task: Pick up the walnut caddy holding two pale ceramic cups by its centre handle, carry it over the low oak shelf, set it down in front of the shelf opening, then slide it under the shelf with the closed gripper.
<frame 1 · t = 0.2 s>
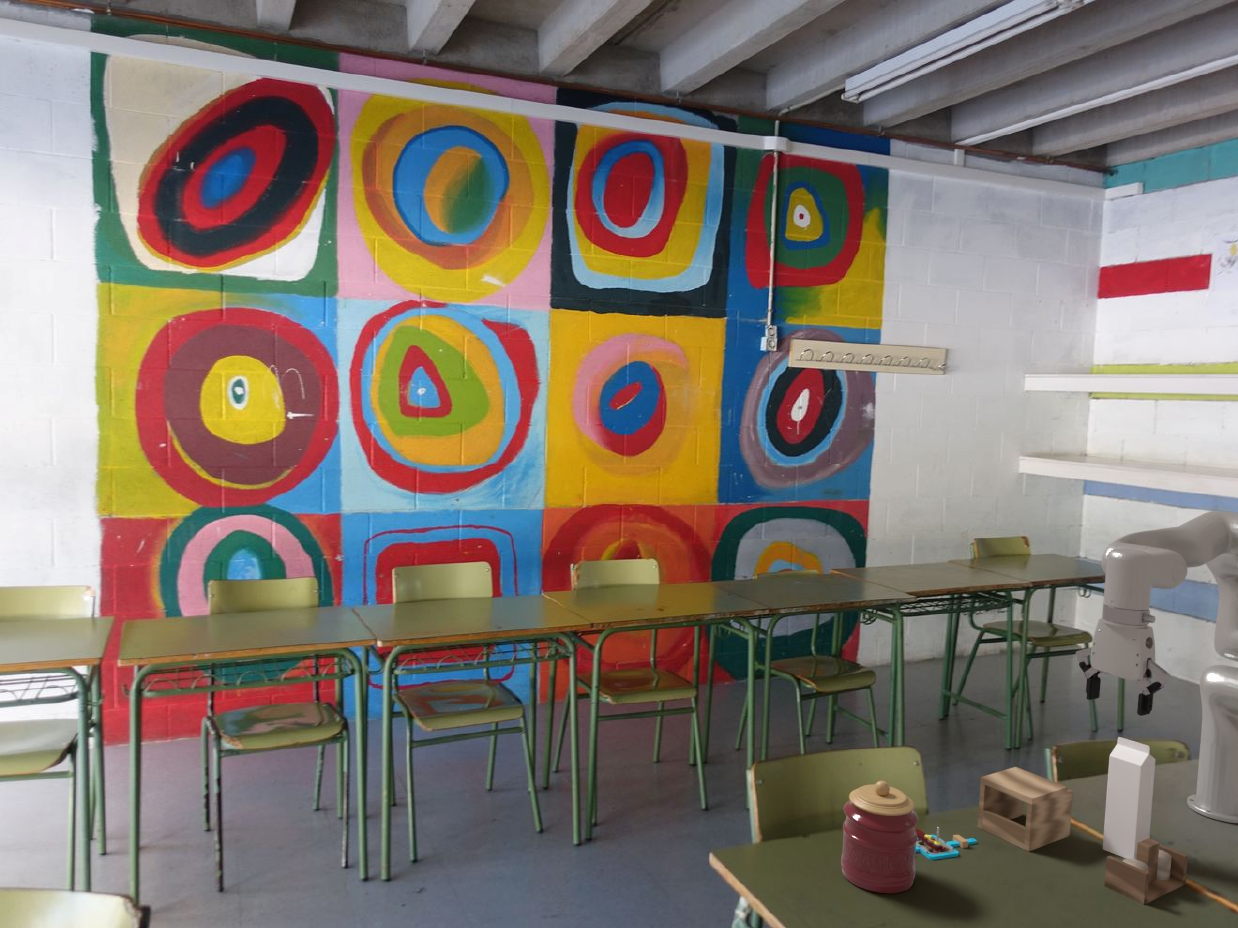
hand: (1117, 706, 175), 30 cm above the table, tool pointing down, fingers open, 9 cm apart
caddy: (1145, 885, 169), on the table
canister: (877, 877, 169), on the table
milk: (1125, 852, 182), on the table
shelf: (1023, 831, 189), on the table
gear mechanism: (929, 850, 181), on the table
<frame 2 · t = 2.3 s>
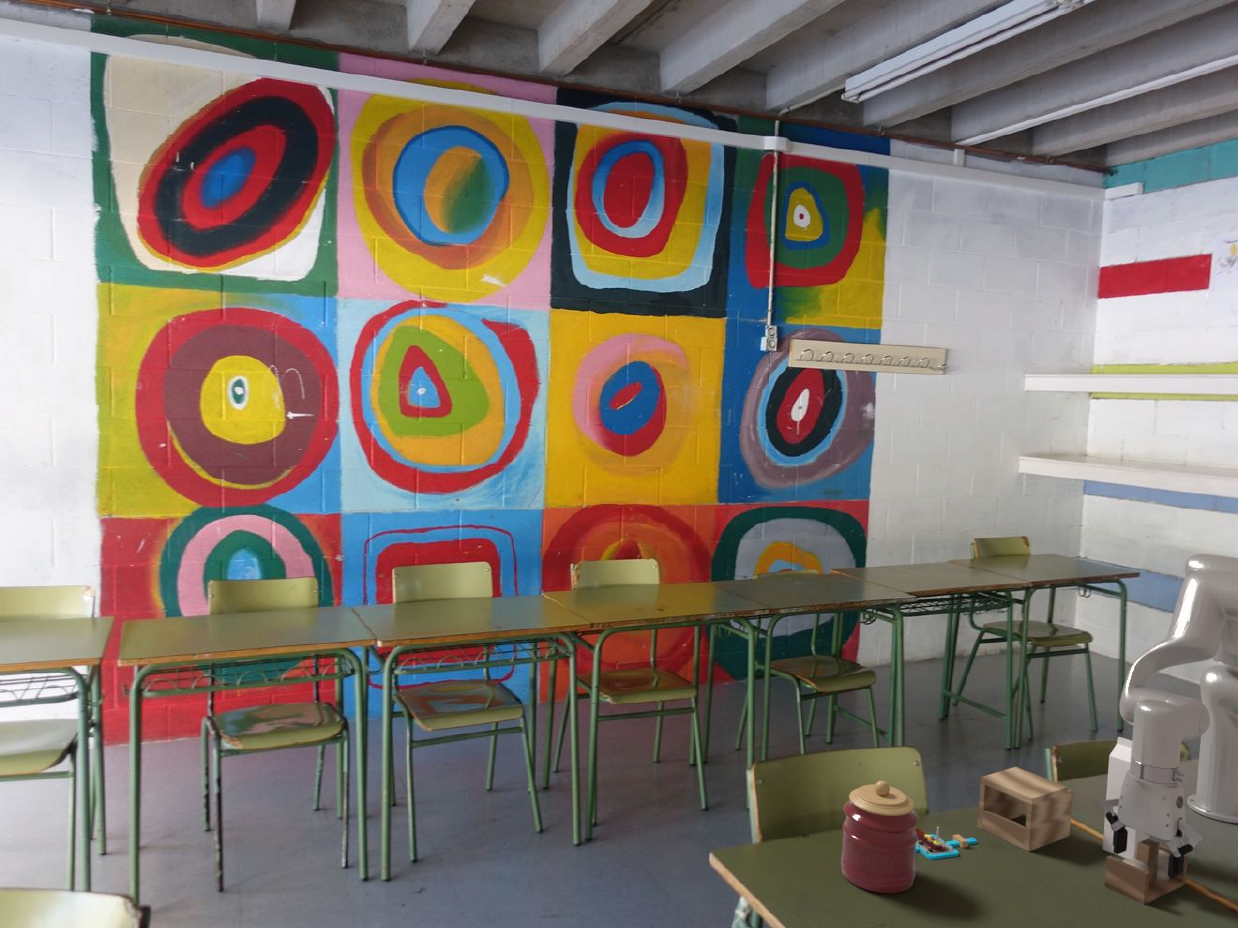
hand: (1146, 863, 169), 4 cm above the table, tool pointing down, fingers open, 9 cm apart
nothing on the table moved.
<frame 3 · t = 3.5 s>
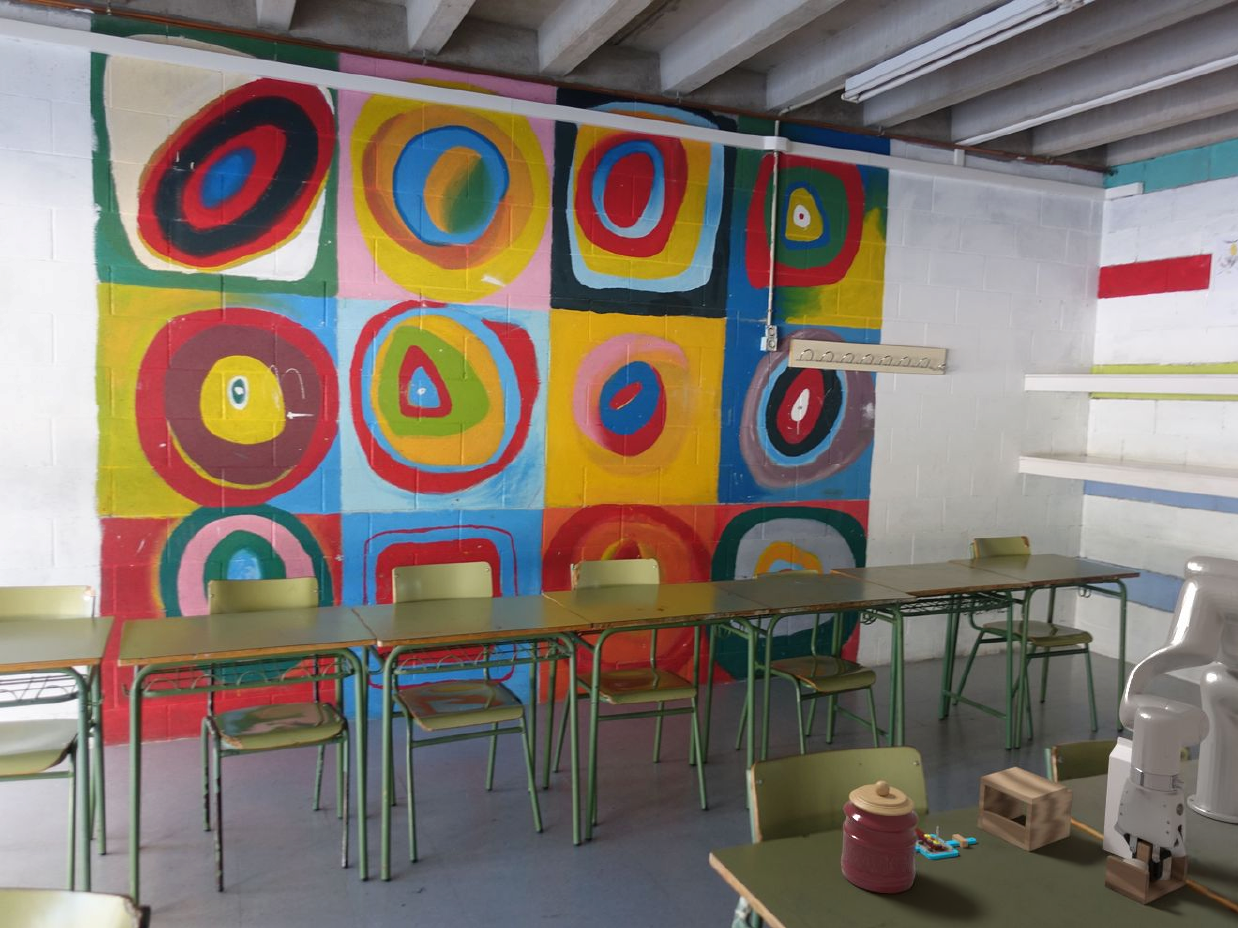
hand: (1146, 876, 169), 2 cm above the table, tool pointing down, fingers closed on caddy
caddy: (1145, 885, 169), on the table, touching gripper
everything else where it was.
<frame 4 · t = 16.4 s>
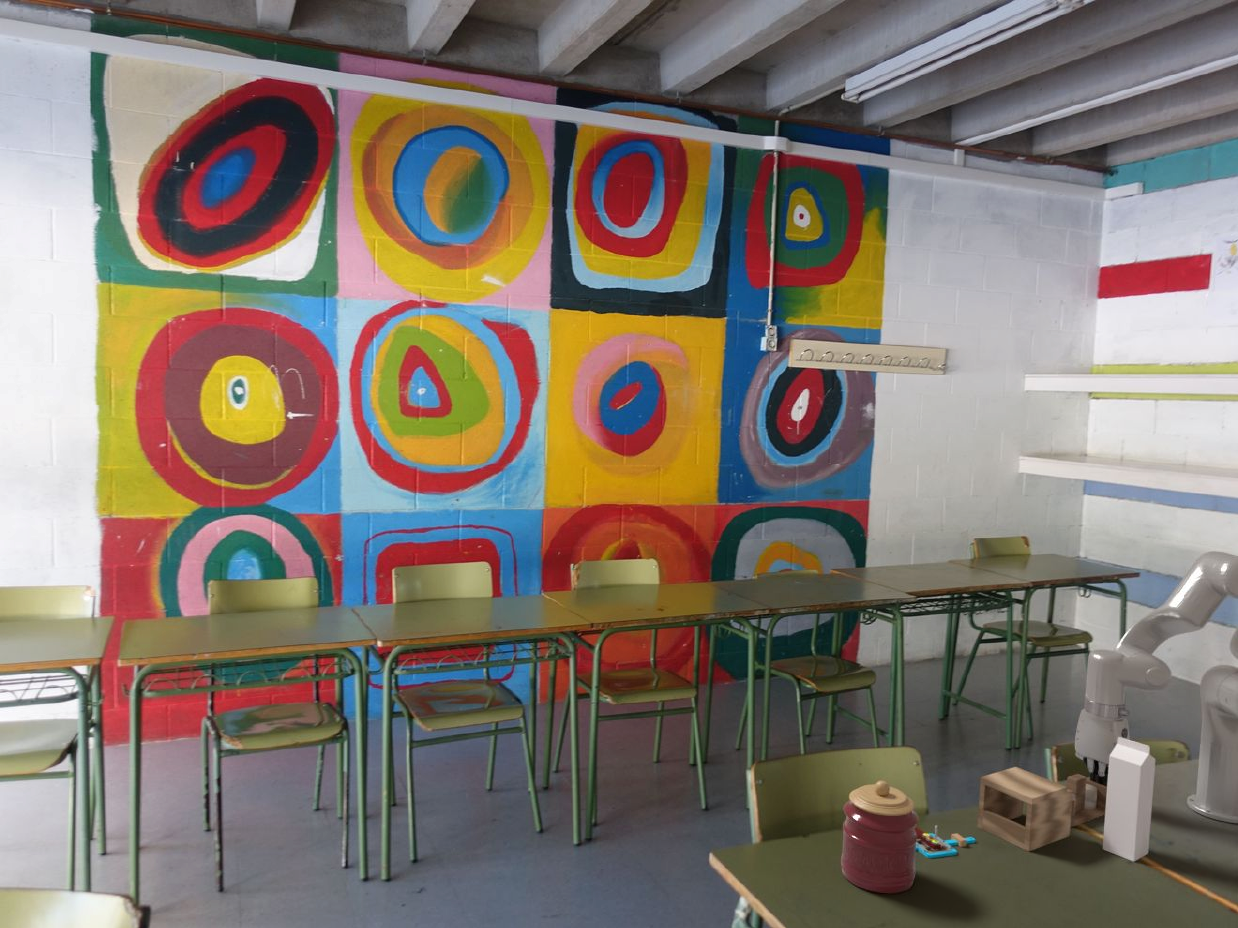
hand: (1097, 790, 203), 3 cm above the table, tool pointing down, fingers closed
caddy: (1074, 813, 198), on the table
everything else where it was.
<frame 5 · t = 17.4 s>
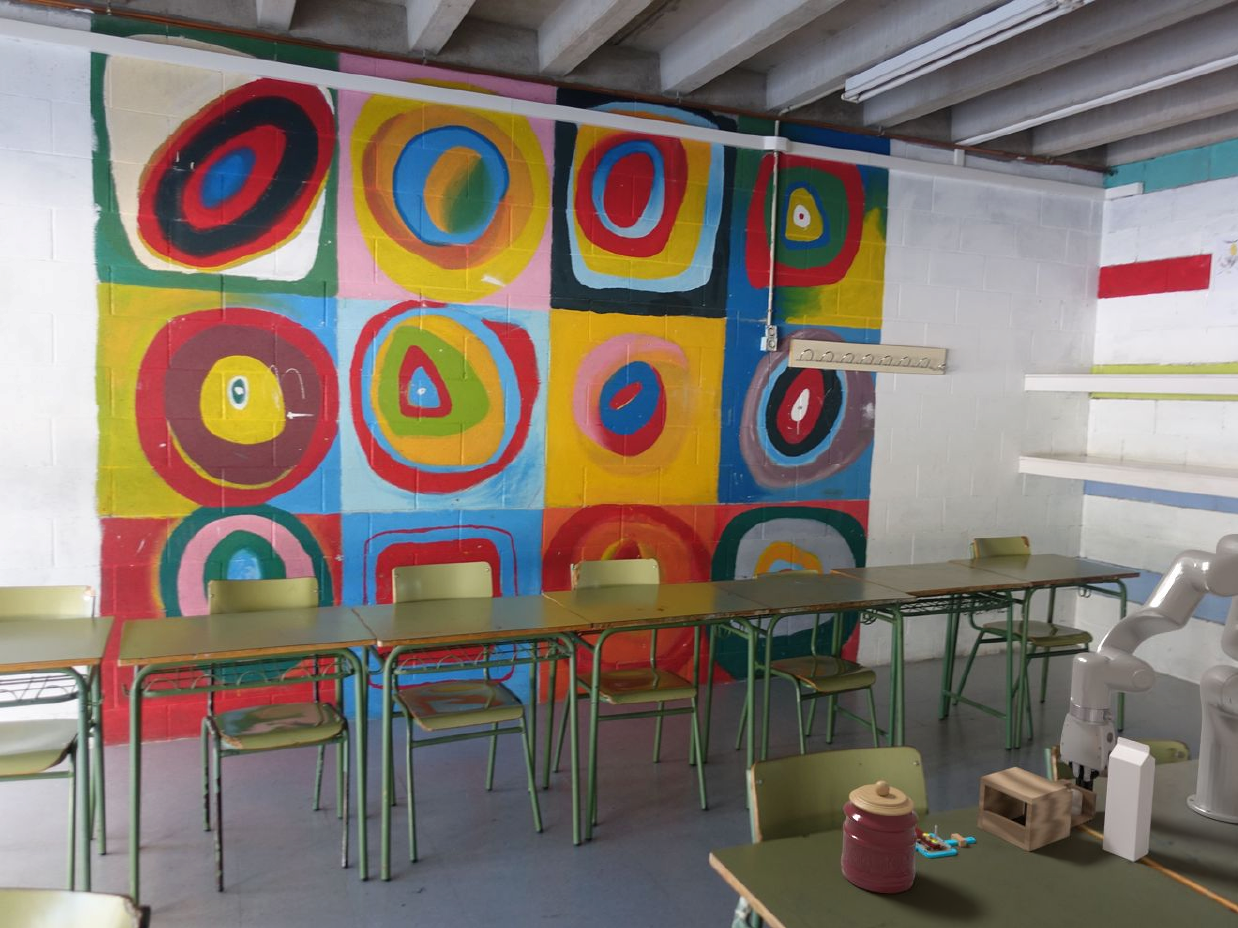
hand: (1083, 795, 200), 3 cm above the table, tool pointing down, fingers closed
caddy: (1059, 819, 195), on the table, touching gripper
everything else where it was.
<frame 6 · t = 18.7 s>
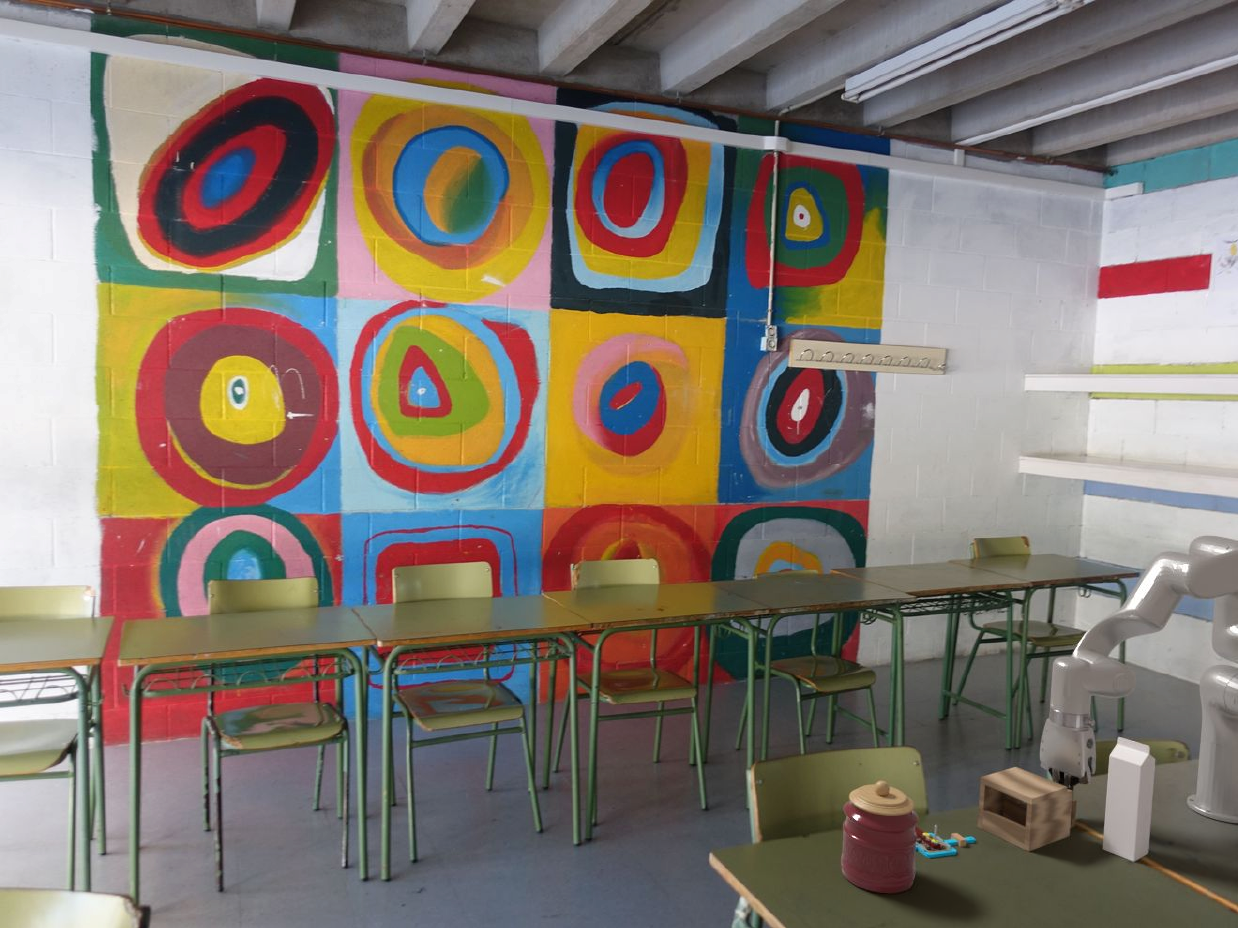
hand: (1063, 802, 196), 3 cm above the table, tool pointing down, fingers closed
caddy: (1038, 826, 191), on the table, touching gripper
everything else where it was.
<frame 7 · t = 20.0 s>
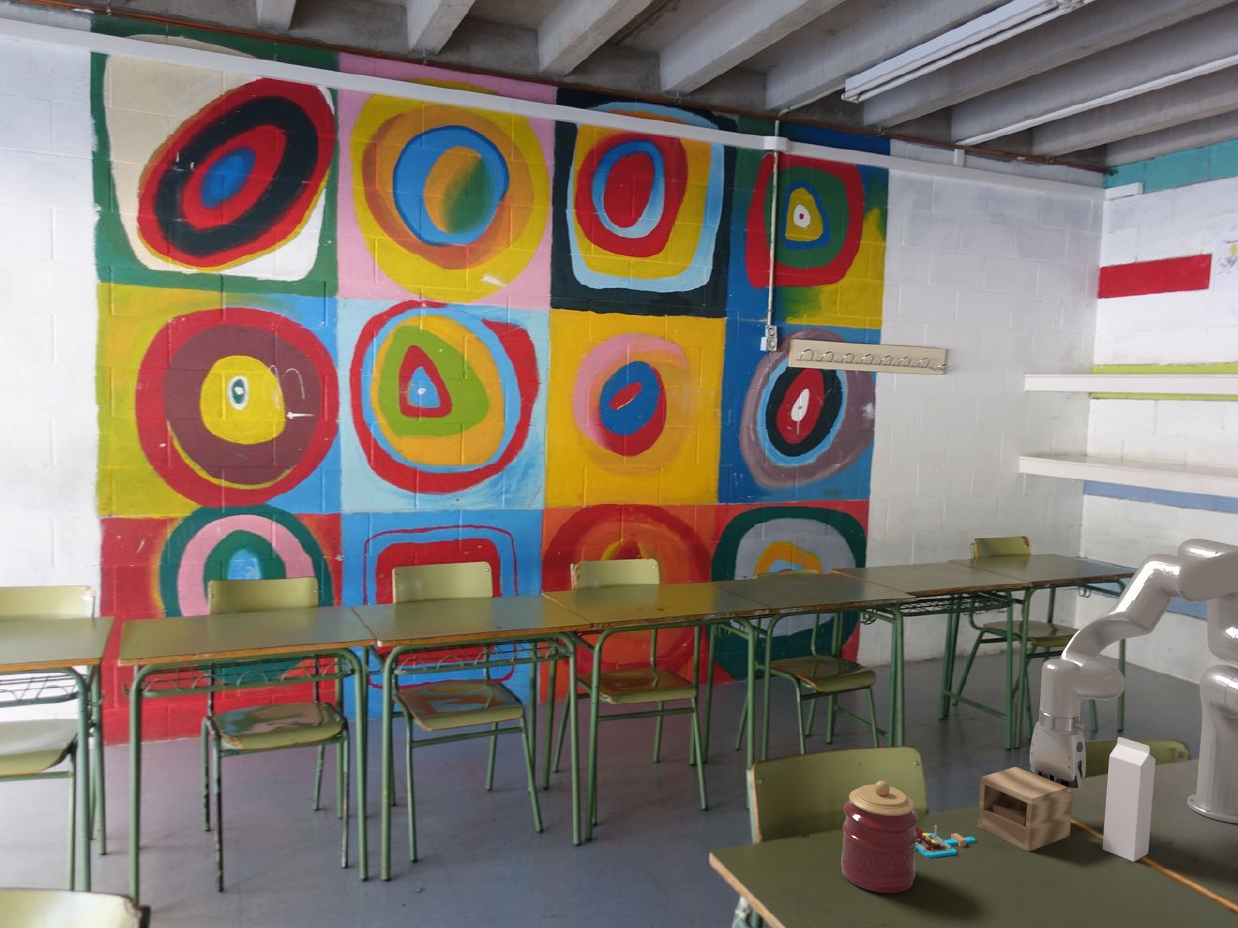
hand: (1053, 806, 194), 3 cm above the table, tool pointing down, fingers closed
caddy: (1028, 830, 189), on the table, touching gripper, shelf
everything else where it was.
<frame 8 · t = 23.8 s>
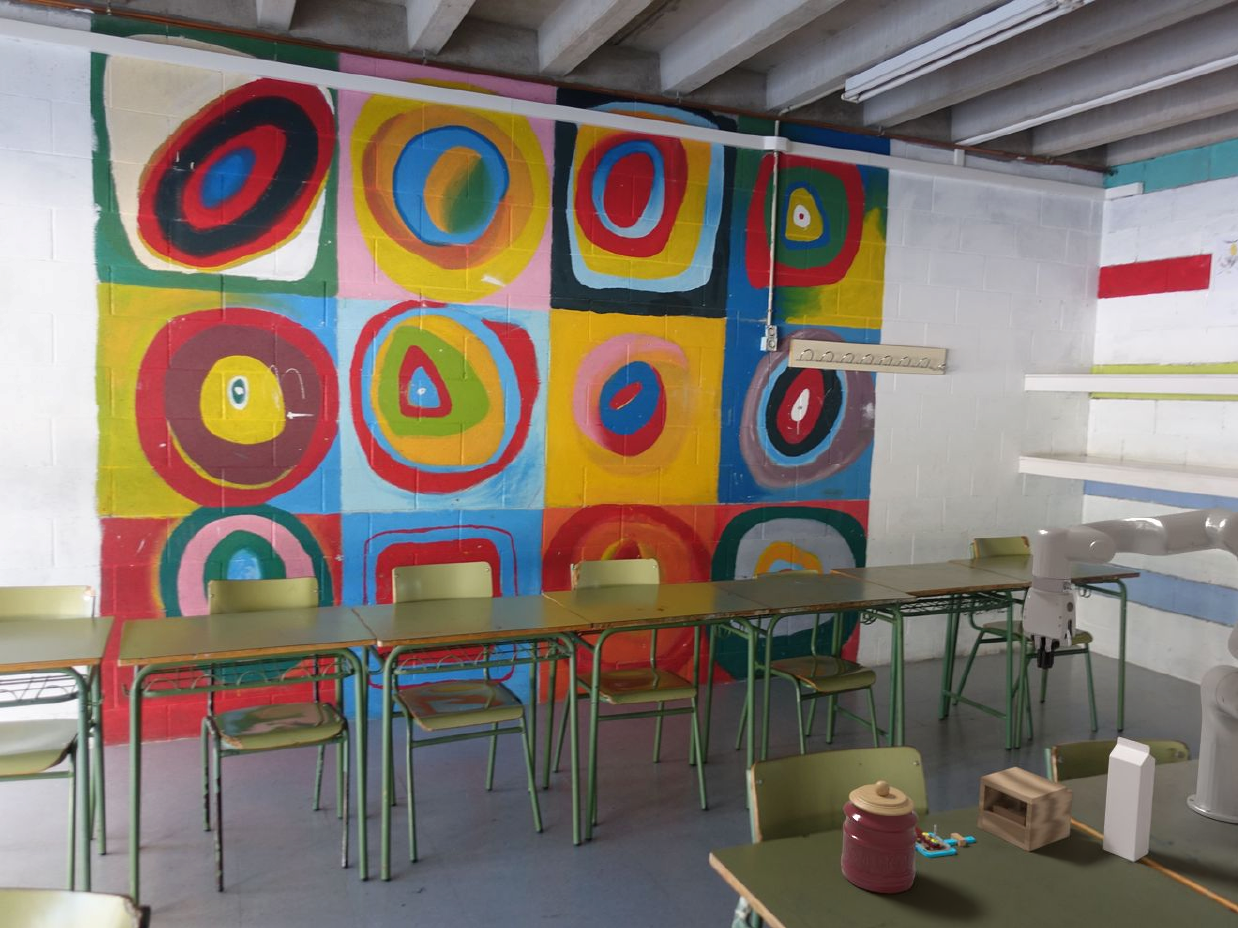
hand: (1044, 667, 204), 29 cm above the table, tool pointing down, fingers closed
caddy: (1028, 831, 189), on the table
everything else where it was.
at the end: caddy inside the target area (0.3 cm from its centre), on the table; caddy tilted 0°; the gripper is holding nothing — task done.
